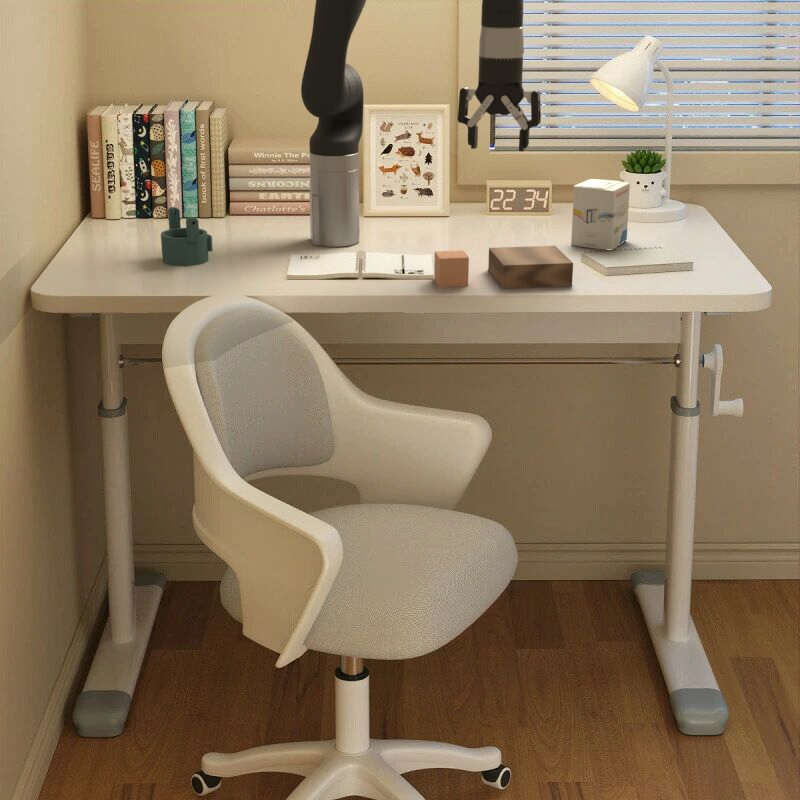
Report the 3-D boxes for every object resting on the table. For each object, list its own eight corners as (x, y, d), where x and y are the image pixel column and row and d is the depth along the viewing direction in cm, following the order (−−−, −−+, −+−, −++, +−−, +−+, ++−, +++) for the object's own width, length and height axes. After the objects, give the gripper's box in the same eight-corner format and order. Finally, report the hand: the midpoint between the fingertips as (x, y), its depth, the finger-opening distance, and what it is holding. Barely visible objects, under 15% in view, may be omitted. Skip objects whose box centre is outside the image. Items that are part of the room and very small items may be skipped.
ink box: (586, 236, 246) (590, 177, 242) (627, 241, 242) (631, 181, 238) (569, 245, 239) (572, 184, 235) (611, 251, 235) (615, 189, 231)
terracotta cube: (439, 287, 212) (439, 258, 211) (434, 279, 217) (434, 251, 215) (468, 286, 213) (468, 257, 211) (462, 278, 218) (463, 250, 216)
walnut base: (503, 288, 211) (503, 265, 210) (488, 269, 222) (489, 247, 221) (572, 285, 213) (573, 263, 212) (554, 267, 224) (555, 245, 223)
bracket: (196, 268, 223) (194, 219, 220) (151, 263, 226) (148, 214, 223) (220, 257, 231) (218, 209, 228) (176, 252, 234) (174, 204, 231)
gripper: (455, 54, 212) (453, 151, 218) (538, 57, 208) (534, 155, 214) (465, 50, 219) (463, 144, 225) (546, 53, 215) (541, 148, 221)
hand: (498, 149), depth 219 cm, fingers open, 8 cm apart
